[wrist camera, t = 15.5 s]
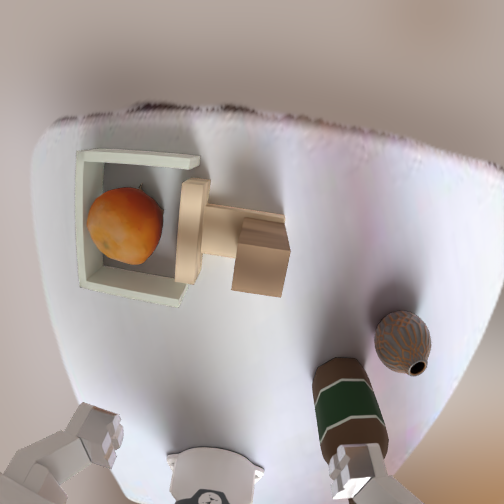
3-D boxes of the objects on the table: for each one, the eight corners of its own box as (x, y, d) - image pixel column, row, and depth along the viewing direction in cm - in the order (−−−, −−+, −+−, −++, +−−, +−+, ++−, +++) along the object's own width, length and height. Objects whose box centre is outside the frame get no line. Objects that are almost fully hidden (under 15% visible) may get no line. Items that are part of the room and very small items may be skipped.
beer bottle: (315, 399, 41) (334, 549, 19) (306, 362, 39) (328, 535, 16) (366, 386, 40) (408, 530, 18) (363, 348, 38) (419, 510, 15)
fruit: (193, 203, 31) (146, 256, 25) (166, 238, 36) (127, 286, 31) (134, 153, 29) (79, 197, 24) (117, 196, 35) (72, 238, 30)
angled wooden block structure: (272, 279, 35) (274, 328, 26) (183, 266, 35) (158, 308, 26) (288, 191, 31) (298, 212, 22) (191, 177, 31) (163, 193, 22)
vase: (363, 315, 36) (385, 359, 28) (412, 294, 35) (443, 332, 27) (373, 354, 38) (392, 399, 30) (419, 334, 37) (445, 375, 29)
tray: (188, 288, 36) (178, 308, 31) (97, 271, 35) (79, 287, 31) (200, 155, 30) (190, 158, 26) (97, 148, 30) (76, 151, 26)
